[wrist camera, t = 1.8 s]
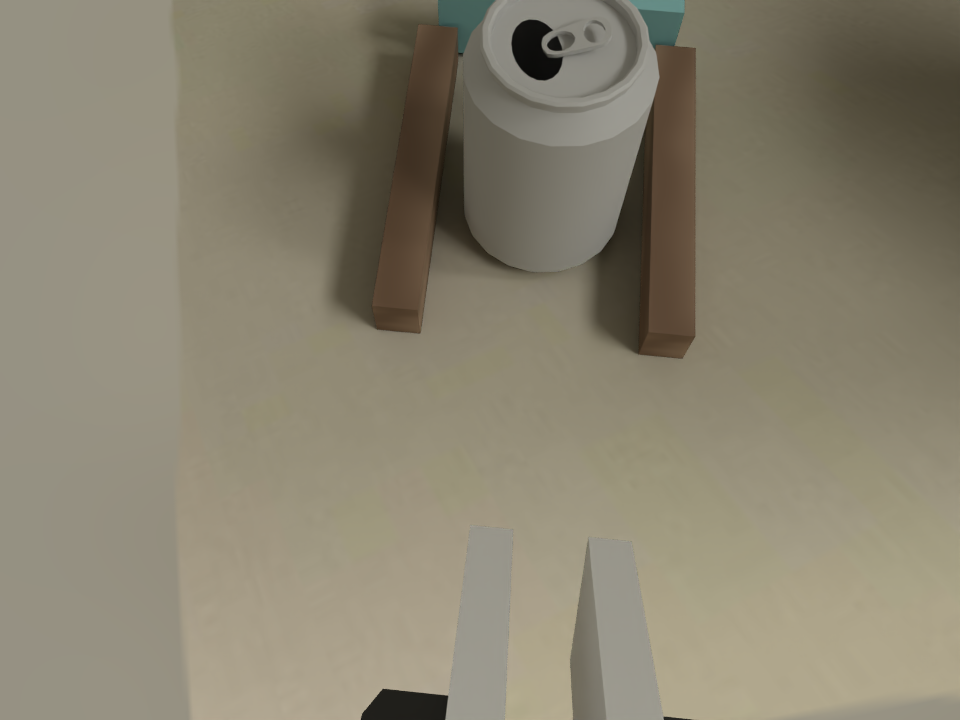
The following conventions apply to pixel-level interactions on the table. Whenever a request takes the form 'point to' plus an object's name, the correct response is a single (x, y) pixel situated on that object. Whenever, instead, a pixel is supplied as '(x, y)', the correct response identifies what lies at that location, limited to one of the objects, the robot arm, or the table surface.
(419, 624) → the table surface
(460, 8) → the bar
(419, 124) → the chute
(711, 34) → the table surface
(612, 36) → the can
